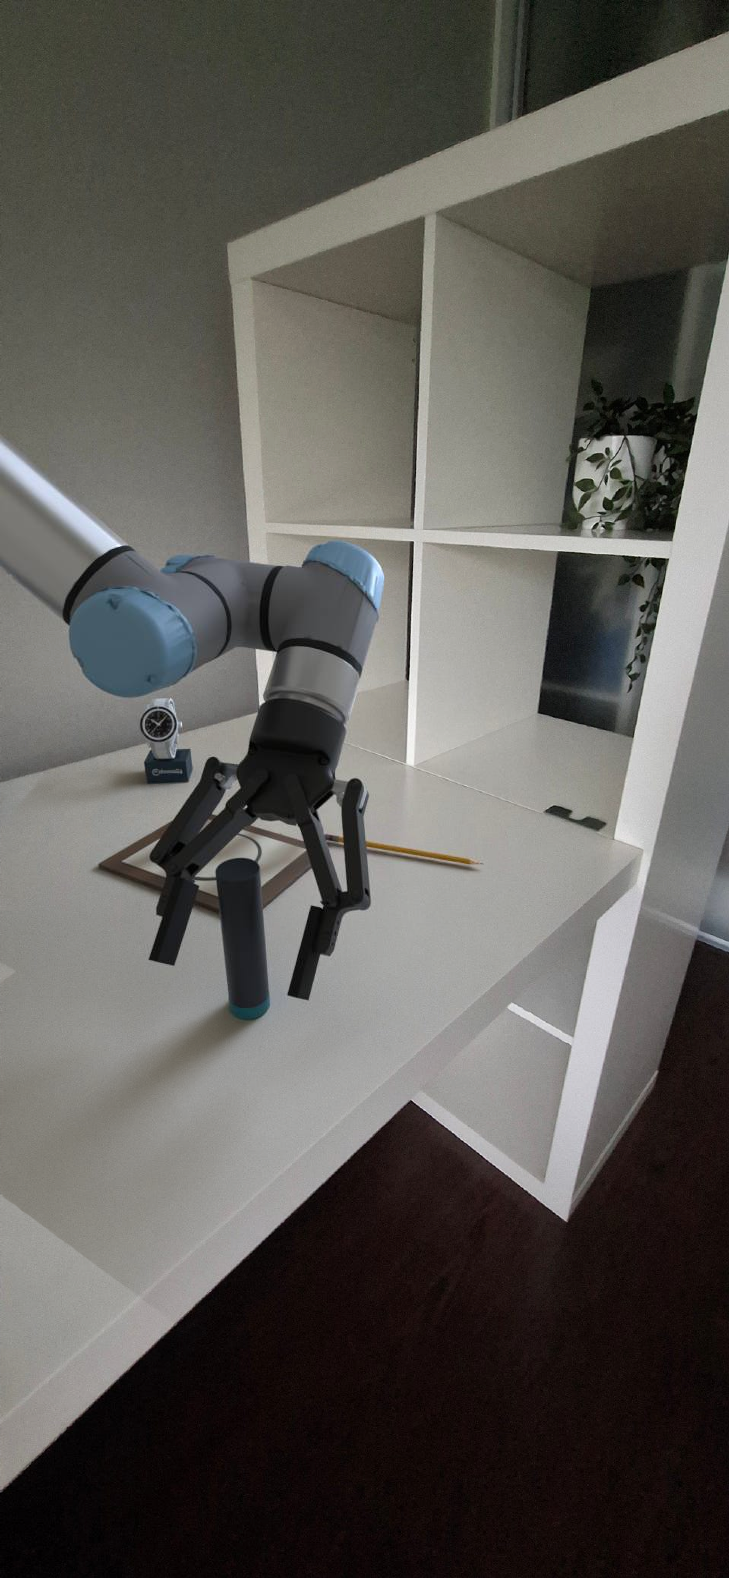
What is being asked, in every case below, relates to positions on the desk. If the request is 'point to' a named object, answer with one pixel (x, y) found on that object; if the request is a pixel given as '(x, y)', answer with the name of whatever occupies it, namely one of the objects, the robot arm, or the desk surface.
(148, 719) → the watch
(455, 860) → the pencil
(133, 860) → the sketch board
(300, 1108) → the desk surface
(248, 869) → the marker
